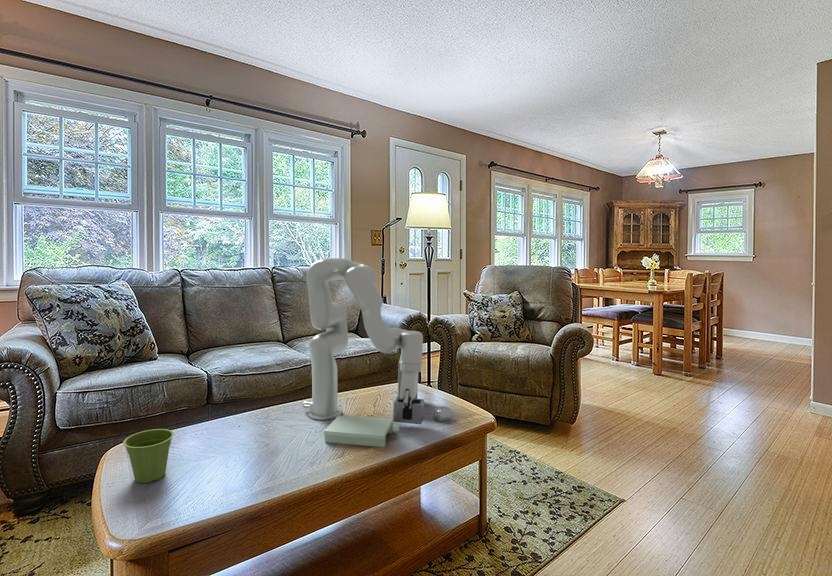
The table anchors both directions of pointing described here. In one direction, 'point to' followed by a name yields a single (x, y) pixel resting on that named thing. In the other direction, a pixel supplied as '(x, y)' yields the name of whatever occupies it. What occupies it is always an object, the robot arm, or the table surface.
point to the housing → (416, 411)
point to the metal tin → (442, 414)
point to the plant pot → (149, 453)
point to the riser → (359, 430)
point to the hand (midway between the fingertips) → (408, 415)
